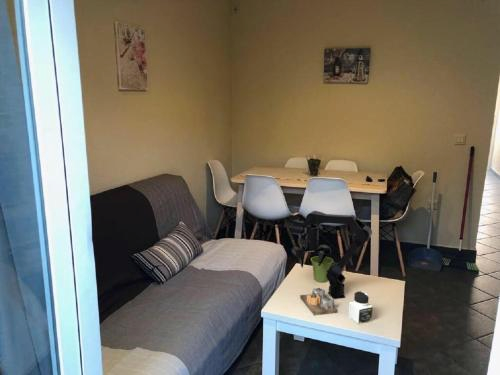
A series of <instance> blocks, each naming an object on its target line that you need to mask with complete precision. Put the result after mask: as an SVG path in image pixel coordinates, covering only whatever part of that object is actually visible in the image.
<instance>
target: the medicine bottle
mask: <svg viewBox="0 0 500 375" xmlns="http://www.w3.org/2000/svg"><path fill="white" fill-rule="evenodd" d="M353 295H354V296H353V301H350V302H349V304H348V318H350V320H352V321H353V322H355V323H356V324H357V325H361V324H365V323H369V322H372V321H373V320H372V319H373V305H371V304H370V303H369V301H370V295H369V293H367V292H365V291H361V290H360V291H359V290H358V291H356V292H355V293H354V294H353Z"/></svg>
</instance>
